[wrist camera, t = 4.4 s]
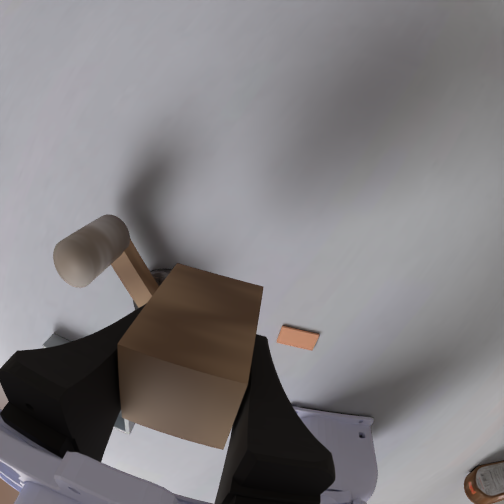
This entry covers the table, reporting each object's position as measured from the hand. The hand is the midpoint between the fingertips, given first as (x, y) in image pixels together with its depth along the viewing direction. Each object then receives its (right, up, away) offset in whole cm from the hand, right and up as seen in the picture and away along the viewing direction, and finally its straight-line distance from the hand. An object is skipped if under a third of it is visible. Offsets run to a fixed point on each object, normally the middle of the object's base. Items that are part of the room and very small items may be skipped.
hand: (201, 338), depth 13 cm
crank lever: (-6, +2, +9) cm, 11 cm away
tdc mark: (+6, -3, +11) cm, 13 cm away
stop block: (0, +1, +2) cm, 2 cm away
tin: (+45, -34, +20) cm, 60 cm away
